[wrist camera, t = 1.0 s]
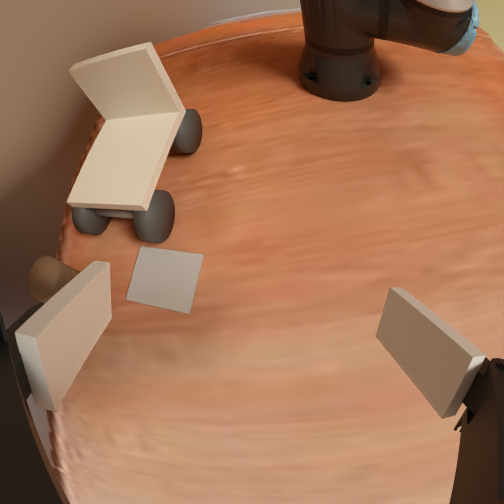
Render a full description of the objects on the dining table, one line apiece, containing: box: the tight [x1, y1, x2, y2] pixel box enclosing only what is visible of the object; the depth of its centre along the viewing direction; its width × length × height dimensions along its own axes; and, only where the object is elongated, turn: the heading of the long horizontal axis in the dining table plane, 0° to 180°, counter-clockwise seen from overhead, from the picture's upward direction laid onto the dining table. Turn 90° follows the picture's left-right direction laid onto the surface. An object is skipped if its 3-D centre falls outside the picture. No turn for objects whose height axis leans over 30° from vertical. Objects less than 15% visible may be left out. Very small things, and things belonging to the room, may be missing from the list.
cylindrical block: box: [28, 255, 80, 303], centre depth 39 cm, size 6×6×10 cm
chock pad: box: [126, 246, 204, 314], centre depth 42 cm, size 8×10×1 cm
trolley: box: [67, 42, 202, 243], centre depth 39 cm, size 22×14×20 cm, turn 169°
